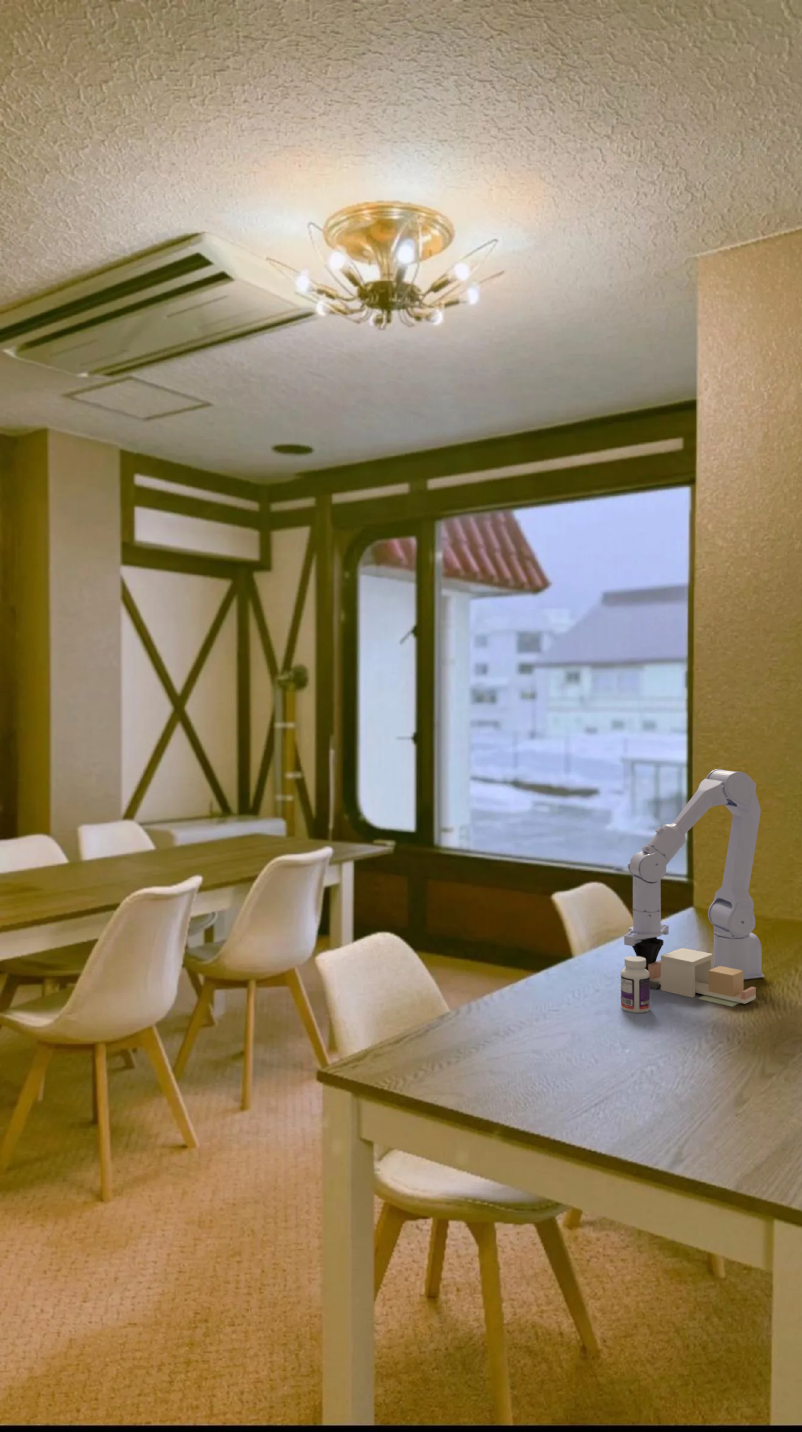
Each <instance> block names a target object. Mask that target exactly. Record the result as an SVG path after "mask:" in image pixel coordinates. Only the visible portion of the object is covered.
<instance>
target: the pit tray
mask: <svg viewBox="0 0 802 1432" xmlns="http://www.w3.org/2000/svg"><path fill="white" fill-rule="evenodd" d="M650 989H653V990H659V989H661V985H660V984H659V983H658V982H653V981H650Z"/></svg>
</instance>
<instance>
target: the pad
mask: <svg viewBox="0 0 802 1432" xmlns="http://www.w3.org/2000/svg"><path fill="white" fill-rule="evenodd" d="M698 1000H700V1001H705V1002H710V1003H714V1004H718V1005H721V1006H722V1005H723V1006H727V1007H732V1008H733V1007H735V1006H737V1005H738V1004H740V1003H739V1002H735V1001H730V1000H726V999H722V998H717V997H713V996H708V995H704V994H703V995H702V996H699V997H698Z"/></svg>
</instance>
